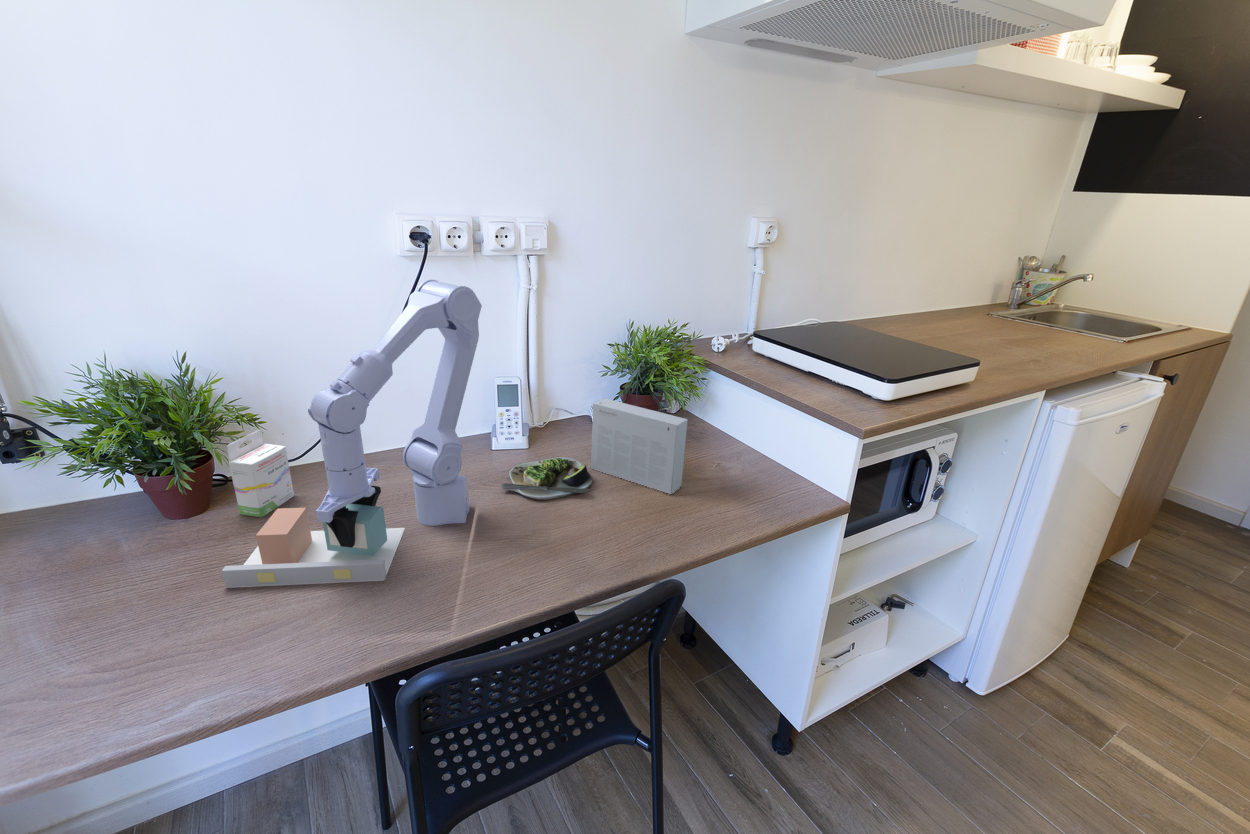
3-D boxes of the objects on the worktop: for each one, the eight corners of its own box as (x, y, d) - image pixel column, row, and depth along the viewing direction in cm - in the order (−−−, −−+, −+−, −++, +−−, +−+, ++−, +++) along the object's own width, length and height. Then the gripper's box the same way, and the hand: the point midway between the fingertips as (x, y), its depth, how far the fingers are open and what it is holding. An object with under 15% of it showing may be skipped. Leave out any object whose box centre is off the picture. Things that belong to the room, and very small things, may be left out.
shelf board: (405, 532, 105) (403, 513, 104) (384, 585, 92) (382, 564, 90) (269, 537, 102) (265, 517, 101) (226, 593, 88) (220, 571, 87)
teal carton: (343, 535, 100) (338, 502, 98) (387, 540, 99) (383, 507, 97) (327, 550, 96) (321, 516, 93) (372, 556, 95) (368, 521, 92)
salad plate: (510, 513, 114) (509, 492, 112) (491, 473, 129) (490, 454, 127) (602, 497, 121) (603, 477, 119) (574, 460, 136) (575, 442, 134)
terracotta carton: (312, 540, 100) (306, 507, 98) (294, 568, 93) (286, 534, 91) (283, 541, 100) (276, 508, 97) (262, 570, 92) (254, 535, 90)
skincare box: (683, 486, 126) (689, 418, 120) (671, 496, 122) (677, 426, 116) (603, 460, 136) (604, 396, 130) (589, 468, 132) (590, 403, 126)
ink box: (263, 522, 107) (247, 449, 101) (240, 518, 107) (222, 446, 102) (297, 499, 115) (283, 430, 109) (275, 496, 115) (260, 427, 110)
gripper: (342, 487, 85) (354, 565, 90) (392, 446, 98) (400, 516, 103) (297, 483, 85) (311, 560, 90) (352, 443, 99) (362, 512, 104)
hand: (356, 536), depth 97 cm, fingers closed on teal carton, 5 cm apart
